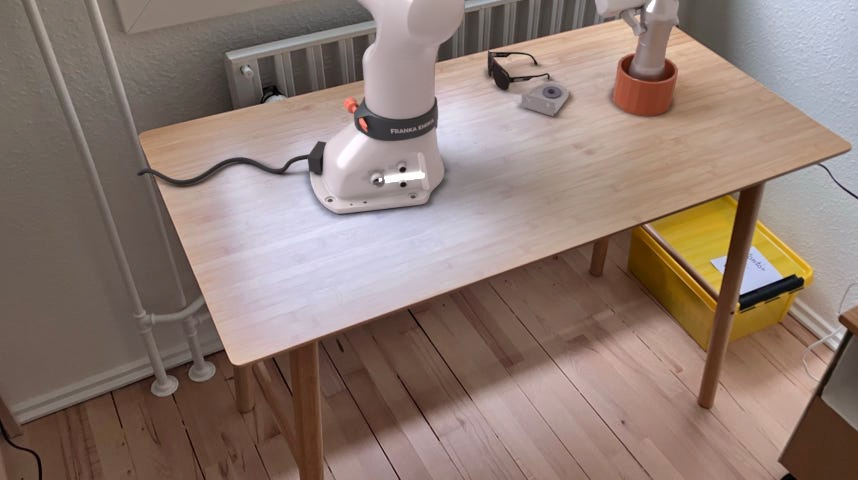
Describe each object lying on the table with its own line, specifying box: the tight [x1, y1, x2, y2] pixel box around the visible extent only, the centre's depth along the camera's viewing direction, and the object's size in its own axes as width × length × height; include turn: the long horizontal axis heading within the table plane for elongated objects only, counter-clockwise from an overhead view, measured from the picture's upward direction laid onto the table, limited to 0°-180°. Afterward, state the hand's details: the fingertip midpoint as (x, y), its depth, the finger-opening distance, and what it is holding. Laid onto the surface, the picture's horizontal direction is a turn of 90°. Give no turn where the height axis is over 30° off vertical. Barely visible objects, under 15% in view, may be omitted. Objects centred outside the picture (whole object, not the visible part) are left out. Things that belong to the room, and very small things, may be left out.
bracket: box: [521, 82, 570, 117], centre depth 159 cm, size 7×10×4 cm, turn 153°
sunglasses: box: [487, 50, 551, 91], centre depth 165 cm, size 10×12×5 cm
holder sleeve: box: [612, 52, 679, 117], centre depth 159 cm, size 11×11×7 cm
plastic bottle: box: [629, 0, 678, 82], centre depth 152 cm, size 6×7×20 cm
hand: (657, 30), depth 151 cm, fingers closed on plastic bottle, 6 cm apart
